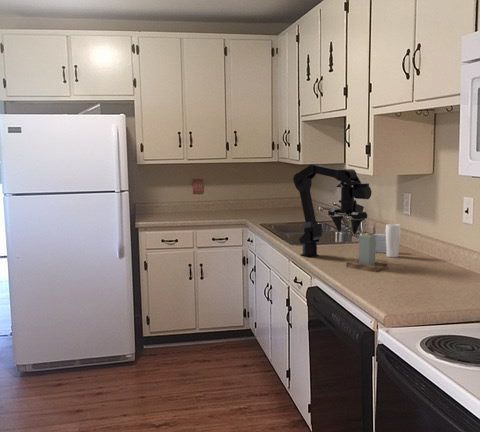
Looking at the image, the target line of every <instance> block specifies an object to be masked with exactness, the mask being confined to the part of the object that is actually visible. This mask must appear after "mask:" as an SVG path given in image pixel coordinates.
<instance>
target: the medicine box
mask: <svg viewBox="0 0 480 432" xmlns="http://www.w3.org/2000/svg"><path fill="white" fill-rule="evenodd" d="M373 235H376V244H375V253H379V254H387V249H386V233H385V234H384V233H374V234H373Z"/></svg>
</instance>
